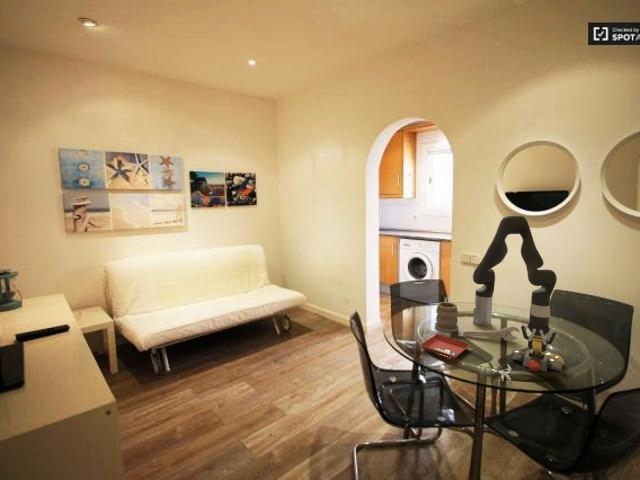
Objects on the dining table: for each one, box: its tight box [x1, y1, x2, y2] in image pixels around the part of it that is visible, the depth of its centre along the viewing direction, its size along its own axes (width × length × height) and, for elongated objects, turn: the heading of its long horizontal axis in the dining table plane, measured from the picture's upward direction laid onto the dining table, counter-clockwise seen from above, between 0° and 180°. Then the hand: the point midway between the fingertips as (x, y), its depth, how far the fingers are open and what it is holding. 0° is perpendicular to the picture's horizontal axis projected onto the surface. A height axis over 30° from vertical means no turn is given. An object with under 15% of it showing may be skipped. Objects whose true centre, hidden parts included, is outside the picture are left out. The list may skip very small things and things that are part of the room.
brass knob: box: [530, 335, 543, 356], centre depth 158 cm, size 5×5×8 cm
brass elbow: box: [543, 352, 565, 367], centre depth 161 cm, size 7×4×6 cm
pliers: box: [485, 362, 512, 383], centre depth 154 cm, size 10×2×15 cm
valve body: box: [511, 349, 563, 373], centre depth 158 cm, size 19×13×5 cm
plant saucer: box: [420, 333, 471, 359], centre depth 176 cm, size 18×18×3 cm
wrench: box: [457, 325, 521, 342], centre depth 187 cm, size 8×2×30 cm
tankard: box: [434, 296, 459, 334], centre depth 205 cm, size 20×13×15 cm, turn 161°
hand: (536, 349), depth 158 cm, fingers closed on brass knob, 4 cm apart
